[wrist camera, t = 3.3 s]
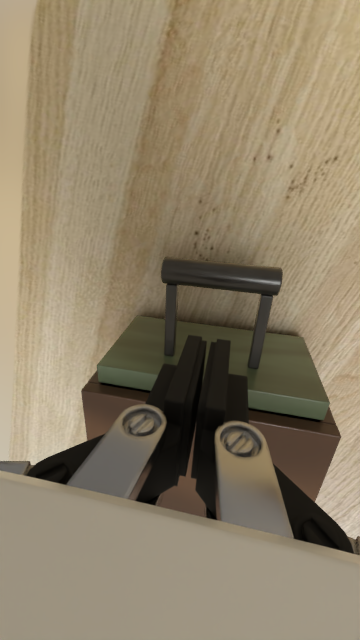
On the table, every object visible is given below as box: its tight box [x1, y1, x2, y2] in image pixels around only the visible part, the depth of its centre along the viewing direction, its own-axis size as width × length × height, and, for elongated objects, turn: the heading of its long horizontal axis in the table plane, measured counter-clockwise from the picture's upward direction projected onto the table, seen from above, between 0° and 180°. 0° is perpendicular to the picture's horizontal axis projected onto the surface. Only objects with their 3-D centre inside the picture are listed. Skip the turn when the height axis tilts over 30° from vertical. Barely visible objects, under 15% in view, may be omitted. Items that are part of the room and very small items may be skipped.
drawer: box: [97, 257, 330, 420], centre depth 20 cm, size 20×12×7 cm, turn 177°
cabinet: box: [81, 371, 341, 517], centre depth 22 cm, size 16×14×9 cm
